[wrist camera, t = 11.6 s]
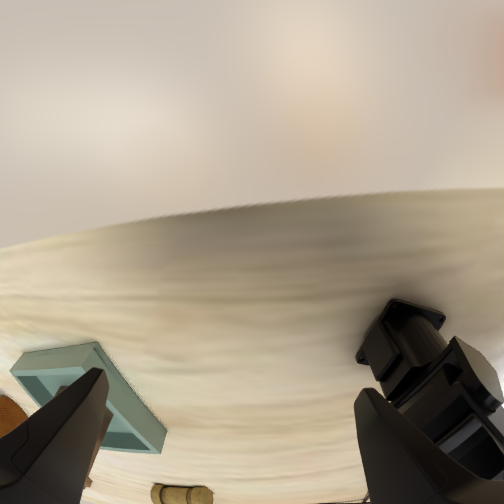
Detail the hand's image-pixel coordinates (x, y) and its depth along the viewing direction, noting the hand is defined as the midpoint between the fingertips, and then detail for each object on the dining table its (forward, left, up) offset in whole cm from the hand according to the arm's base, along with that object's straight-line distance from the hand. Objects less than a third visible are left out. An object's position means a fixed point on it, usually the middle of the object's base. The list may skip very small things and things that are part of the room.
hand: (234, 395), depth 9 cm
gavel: (-7, +52, -12) cm, 54 cm away
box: (+12, +22, -12) cm, 28 cm away
